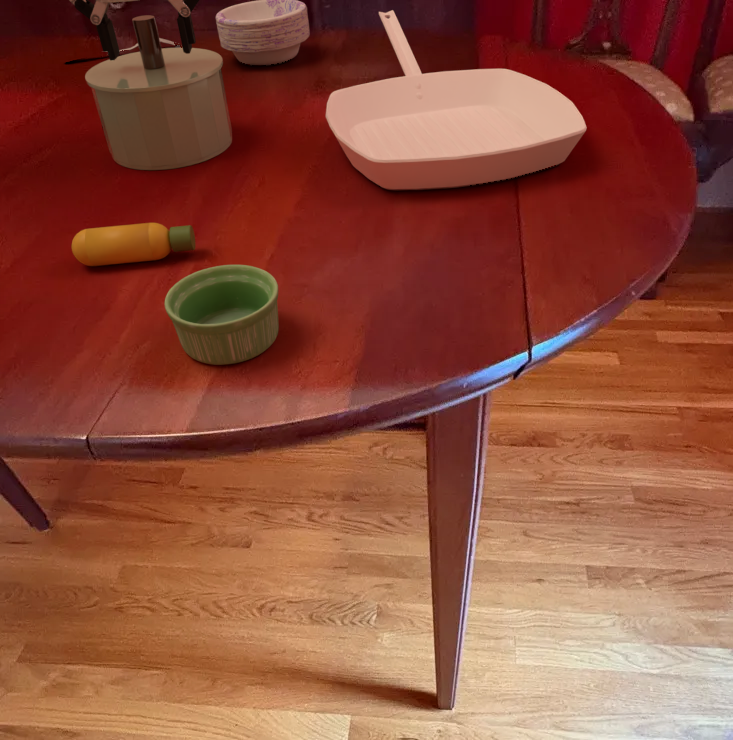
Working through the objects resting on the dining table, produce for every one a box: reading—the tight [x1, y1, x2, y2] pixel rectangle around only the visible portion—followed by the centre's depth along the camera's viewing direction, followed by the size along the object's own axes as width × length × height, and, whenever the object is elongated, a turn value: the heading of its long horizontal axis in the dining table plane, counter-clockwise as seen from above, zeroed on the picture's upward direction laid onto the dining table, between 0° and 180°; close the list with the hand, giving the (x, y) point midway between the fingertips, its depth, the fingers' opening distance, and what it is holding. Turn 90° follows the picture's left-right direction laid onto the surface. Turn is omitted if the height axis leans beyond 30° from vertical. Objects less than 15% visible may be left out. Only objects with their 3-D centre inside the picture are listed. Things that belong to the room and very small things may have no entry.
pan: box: [325, 9, 588, 191], centre depth 92 cm, size 29×45×9 cm, turn 13°
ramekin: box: [164, 264, 280, 366], centre depth 59 cm, size 9×9×4 cm
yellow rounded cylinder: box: [71, 222, 197, 267], centre depth 70 cm, size 12×4×4 cm, turn 95°
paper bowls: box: [215, 0, 311, 66], centre depth 122 cm, size 15×15×8 cm
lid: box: [84, 14, 224, 93], centre depth 87 cm, size 17×17×7 cm
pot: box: [90, 68, 233, 171], centre depth 92 cm, size 16×16×10 cm
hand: (151, 53), depth 88 cm, fingers open, 8 cm apart
